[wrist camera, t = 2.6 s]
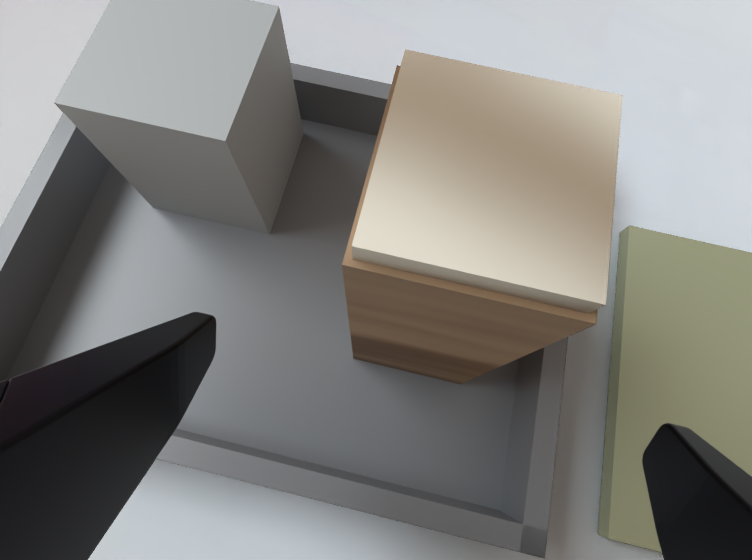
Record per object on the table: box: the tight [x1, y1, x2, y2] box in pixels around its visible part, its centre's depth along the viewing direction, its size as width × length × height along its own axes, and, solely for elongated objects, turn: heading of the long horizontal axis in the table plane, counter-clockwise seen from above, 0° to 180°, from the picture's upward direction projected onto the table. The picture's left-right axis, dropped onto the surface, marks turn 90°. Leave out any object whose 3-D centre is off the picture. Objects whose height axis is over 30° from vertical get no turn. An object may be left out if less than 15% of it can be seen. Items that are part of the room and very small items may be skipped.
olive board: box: [598, 226, 752, 552], centre depth 19 cm, size 13×10×1 cm
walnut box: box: [342, 50, 623, 384], centre depth 14 cm, size 4×4×12 cm
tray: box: [0, 63, 568, 558], centre depth 19 cm, size 17×22×3 cm
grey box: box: [54, 0, 304, 234], centre depth 18 cm, size 6×6×7 cm
